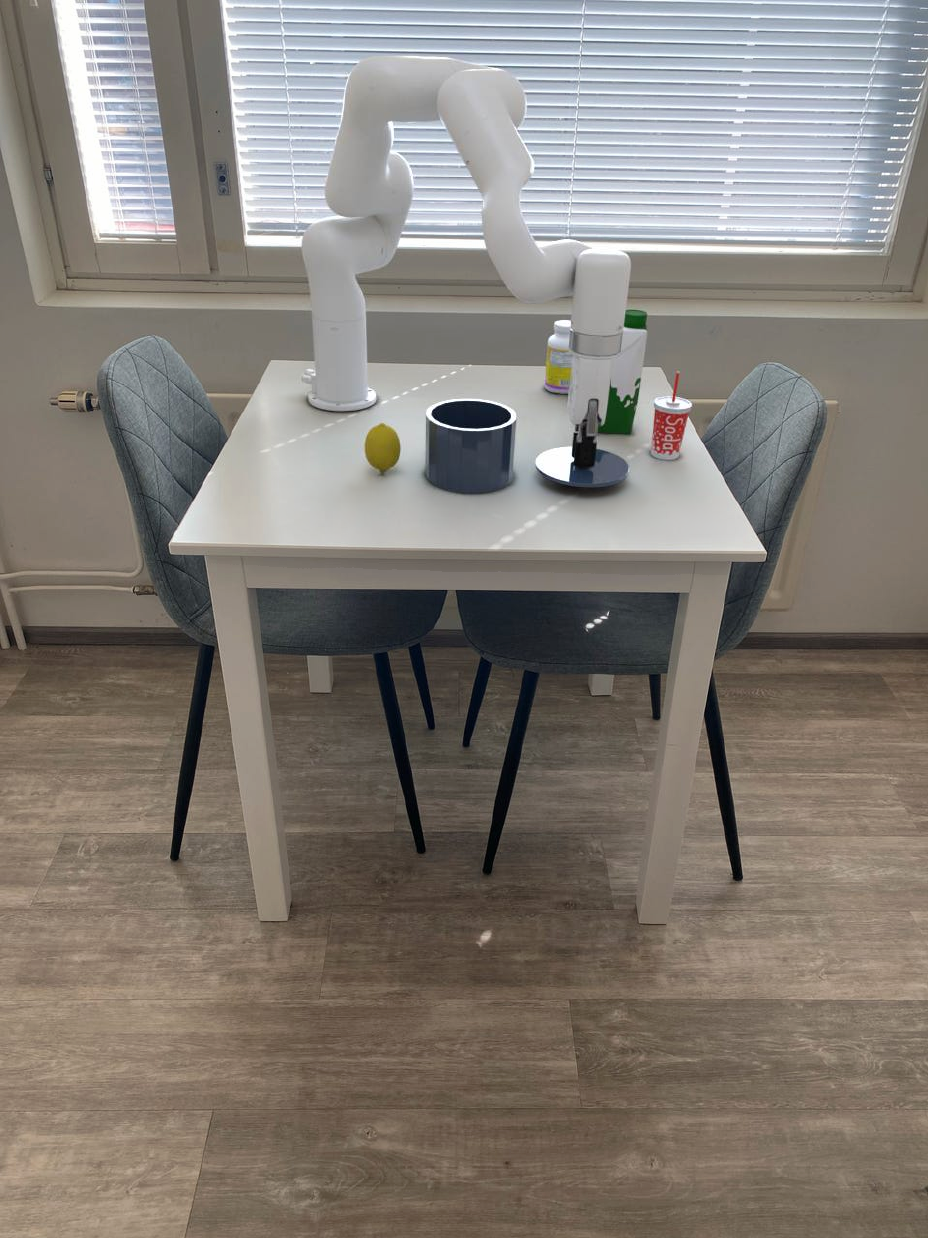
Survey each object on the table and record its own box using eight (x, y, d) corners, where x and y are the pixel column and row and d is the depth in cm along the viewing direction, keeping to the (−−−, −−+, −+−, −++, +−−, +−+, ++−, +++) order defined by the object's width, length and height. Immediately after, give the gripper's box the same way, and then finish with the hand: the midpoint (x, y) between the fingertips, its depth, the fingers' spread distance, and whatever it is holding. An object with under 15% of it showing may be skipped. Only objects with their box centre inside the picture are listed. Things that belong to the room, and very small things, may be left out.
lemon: (395, 481, 138) (394, 431, 133) (360, 477, 139) (359, 427, 134) (404, 467, 142) (404, 418, 138) (371, 463, 143) (369, 415, 139)
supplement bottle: (555, 381, 181) (561, 316, 174) (584, 388, 177) (591, 322, 170) (537, 389, 176) (542, 323, 169) (566, 397, 173) (573, 329, 166)
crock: (422, 491, 135) (423, 428, 129) (428, 456, 146) (429, 396, 141) (512, 495, 135) (517, 432, 129) (511, 460, 146) (515, 400, 141)
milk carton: (636, 436, 157) (653, 319, 146) (584, 434, 157) (597, 317, 146) (630, 418, 164) (645, 306, 153) (581, 416, 164) (592, 304, 153)
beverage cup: (643, 458, 149) (655, 374, 141) (649, 445, 154) (662, 364, 146) (680, 464, 147) (694, 380, 139) (685, 450, 152) (700, 369, 144)
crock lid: (536, 489, 134) (539, 452, 130) (533, 451, 146) (536, 417, 143) (634, 493, 133) (639, 456, 130) (623, 455, 146) (627, 420, 143)
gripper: (564, 326, 136) (554, 441, 146) (574, 358, 122) (562, 482, 132) (614, 328, 136) (600, 443, 146) (629, 359, 122) (613, 484, 132)
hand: (582, 460), depth 139 cm, fingers closed on crock lid, 2 cm apart
